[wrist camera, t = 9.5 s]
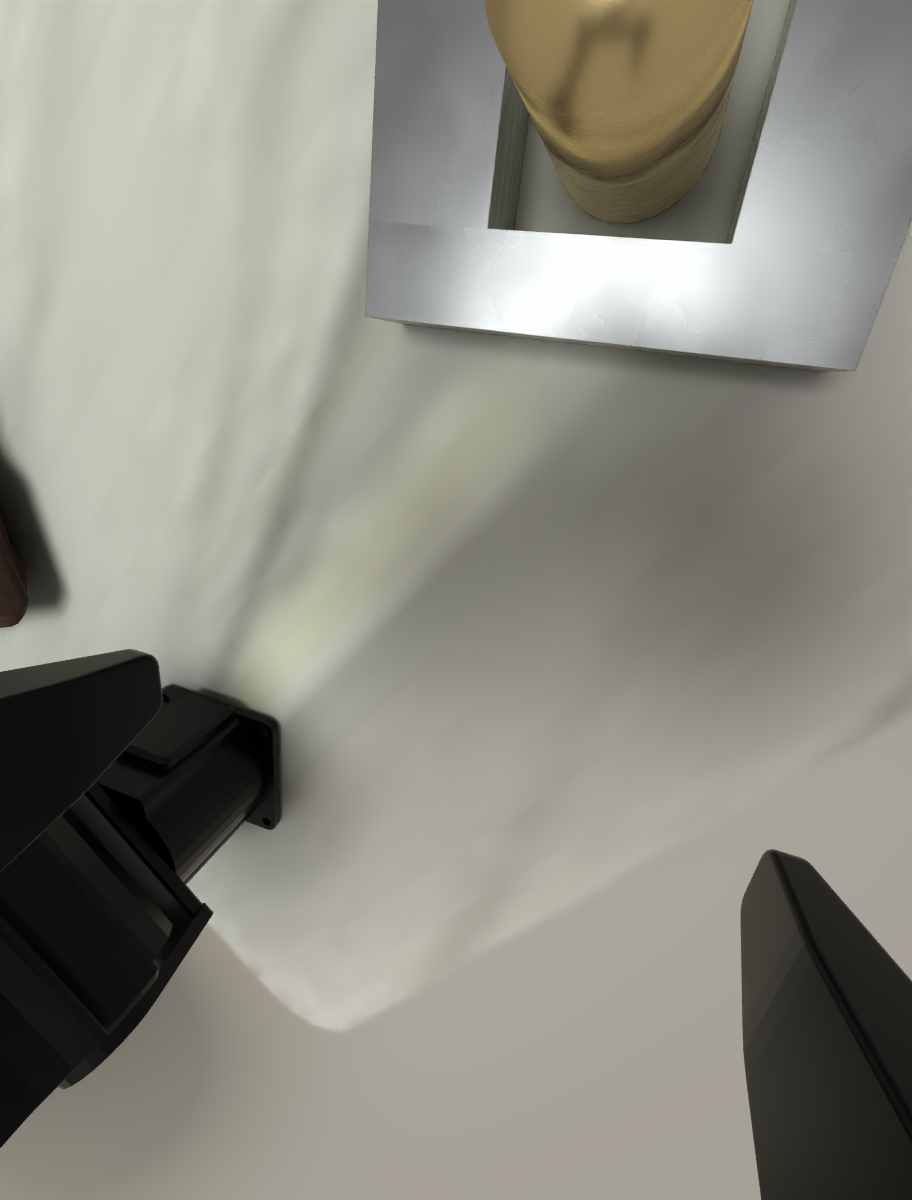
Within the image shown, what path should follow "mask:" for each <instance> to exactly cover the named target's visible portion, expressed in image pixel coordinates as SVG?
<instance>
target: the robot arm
mask: <svg viewBox="0 0 912 1200" xmlns="http://www.w3.org/2000/svg"><path fill="white" fill-rule="evenodd" d="M265 728H266V729H267V730H266V729H265ZM245 821H247V822H250V823H252V824H255V825H258V826H260V827H263V828H265V829H269V830H272V829H274V828H275V827H276V825H277V824H278V823H279V822H280V790H279V745H278V727H277V725H276V723H275V722H274V721H273V720H272V719H270V718H268V717H265V716H262V715H258V714H255V713H252V712H249V711H246V710H243V709H240V708H237V707H234V706H231V705H228V704H225V703H222V702H219V701H216V700H213V699H210V698H207V697H204V696H201V695H198V694H195V693H192V692H189V691H186V690H183V689H180V688H177V687H173V686H169V685H167V686H165V687H164V688H161V680H160V672H159V665H158V661H157V660H156V658H155V657H154V656H152V655H150V654H147V653H144V652H141V651H137V650H133V649H127V650H121V651H116V652H110V653H104V654H99V655H93V656H87V657H82V658H76V659H71V660H65V661H59V662H54V663H48V664H42V665H37V666H31V667H26V668H20V669H14V670H9V671H3V672H0V1148H1V1147H2V1146H3V1144H4V1143H5V1142H6V1141H7V1140H8V1139H9V1138H10V1137H11V1135H12V1134H13V1133H14V1132H15V1131H16V1130H17V1128H18V1127H19V1126H20V1125H21V1124H22V1123H23V1122H24V1121H25V1120H26V1118H27V1117H28V1116H29V1115H30V1114H31V1113H32V1112H33V1111H34V1110H35V1109H36V1108H37V1107H38V1106H39V1105H40V1104H41V1103H42V1102H43V1101H44V1100H45V1099H46V1098H47V1097H48V1096H49V1095H50V1094H51V1093H52V1092H53V1091H54V1090H55V1088H57V1087H59V1088H61V1089H66V1088H68V1087H70V1086H72V1085H74V1084H75V1083H77V1082H79V1081H80V1080H82V1079H83V1078H84V1077H85V1076H87V1075H88V1074H89V1073H90V1072H92V1071H93V1070H94V1069H95V1068H96V1067H98V1066H99V1065H100V1064H101V1063H102V1062H103V1061H104V1060H105V1059H106V1058H107V1057H108V1056H109V1055H110V1054H111V1053H112V1052H113V1051H114V1050H115V1049H116V1048H117V1047H118V1046H119V1045H120V1044H121V1043H122V1042H123V1041H124V1040H125V1039H126V1038H127V1037H128V1035H129V1034H130V1033H131V1032H132V1031H133V1030H134V1029H135V1027H136V1026H137V1025H138V1024H139V1023H140V1021H141V1020H142V1019H143V1018H144V1016H145V1015H146V1014H147V1012H148V1011H149V1010H150V1008H151V1007H152V1006H153V1004H154V1003H155V1001H156V999H157V998H158V997H159V995H160V994H161V992H162V991H163V989H164V988H165V986H166V984H167V983H168V981H169V980H170V978H171V977H172V975H173V974H174V972H175V971H176V969H177V968H178V966H179V965H180V963H181V962H182V960H183V959H184V957H185V956H186V954H187V953H188V951H189V950H190V948H191V947H192V945H193V944H194V942H195V941H196V939H197V937H198V936H199V934H200V933H201V931H202V930H203V928H204V927H205V925H206V924H207V922H208V921H209V919H210V918H211V916H212V915H213V912H212V910H211V909H210V908H209V907H208V906H207V905H206V903H201V902H200V901H199V899H198V898H197V897H196V896H195V895H194V894H193V892H192V891H191V890H190V889H189V888H188V887H187V885H186V884H187V883H188V882H189V881H190V880H191V879H192V878H193V877H194V875H195V874H196V873H197V872H198V871H199V870H200V869H201V868H202V867H203V866H204V865H205V864H206V863H207V861H208V860H209V859H210V858H211V857H212V856H213V855H214V854H215V853H216V852H217V851H218V850H219V849H220V848H221V846H222V845H223V844H224V843H225V842H226V841H227V840H228V839H229V838H230V837H231V836H232V835H233V834H234V832H235V831H236V830H237V829H238V828H239V827H240V826H241V825H242V824H243V823H244V822H245ZM741 965H742V967H741V968H742V1021H743V1022H742V1024H743V1052H744V1063H745V1072H746V1082H747V1090H748V1098H749V1106H750V1114H751V1121H752V1130H753V1138H754V1145H755V1154H756V1161H757V1170H758V1178H759V1185H760V1193H761V1200H912V981H911V980H910V979H909V977H908V976H907V975H906V974H905V973H904V972H903V970H902V969H901V968H900V967H899V966H898V965H897V963H895V961H894V960H893V959H892V958H891V956H890V955H889V954H888V953H887V952H886V951H885V950H884V948H883V947H882V946H881V945H880V944H879V943H878V942H877V940H876V939H875V938H874V937H873V936H872V934H871V933H870V932H869V931H868V930H867V929H866V928H865V927H864V925H863V924H862V923H861V922H860V921H859V919H858V918H857V917H856V916H855V915H854V914H853V912H852V911H851V910H850V909H849V908H848V907H847V905H846V904H845V903H844V902H843V901H842V900H841V899H840V897H839V896H838V895H837V894H836V893H835V892H834V890H833V889H832V888H831V887H830V886H829V885H828V883H827V882H826V881H825V880H824V879H823V878H822V877H821V875H820V874H819V873H818V872H817V871H816V870H815V868H814V867H813V866H812V865H811V864H810V863H809V862H808V861H806V860H805V859H803V858H800V857H796V856H793V855H790V854H787V853H784V852H780V851H778V850H773V849H771V850H767V851H766V852H765V853H764V854H763V855H762V857H761V859H760V861H759V864H758V866H757V868H756V870H755V872H754V874H753V877H752V879H751V881H750V883H749V885H748V887H747V889H746V892H745V894H744V897H743V900H742V905H741Z"/></svg>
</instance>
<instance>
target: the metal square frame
mask: <svg viewBox="0 0 912 1200" xmlns="http://www.w3.org/2000/svg"><path fill="white" fill-rule="evenodd" d="M528 117H529V112H528V110H527V108H526V106H525V104H524V102H523V100H522V98H521V96H520V93H519V91H518V89H517V87H516V85H515V83H514V81H513V79H512V77H511V75H510V73H509V71H508V69H507V67H506V65H505V63H504V61H503V58H502V56H501V54H500V52H499V50H498V48H497V46H496V43H495V40H494V38H493V35H492V33H491V30H490V26H489V22H488V18H487V14H486V10H485V4H484V0H378V16H377V40H376V65H375V89H374V113H373V138H372V162H371V186H370V211H369V235H368V259H367V284H366V308H365V316H366V317H371V318H376V319H381V320H385V321H390V322H395V323H400V324H406V325H415V326H424V327H433V328H442V329H451V330H460V331H468V332H477V333H486V334H495V335H504V336H513V337H522V338H531V339H539V340H548V341H557V342H566V343H575V344H584V345H593V346H601V347H610V348H619V349H628V350H637V351H646V352H655V353H664V354H672V355H681V356H690V357H699V358H708V359H717V360H726V361H734V362H743V363H752V364H761V365H770V366H779V367H788V368H797V369H805V370H814V371H823V372H831V371H855V370H856V367H857V365H858V362H859V359H860V357H861V354H862V351H863V349H864V346H865V343H866V341H867V338H868V335H869V333H870V330H871V327H872V325H873V322H874V319H875V317H876V314H877V312H878V309H879V306H880V304H881V301H882V298H883V296H884V293H885V290H886V288H887V285H888V282H889V280H890V277H891V274H892V272H893V269H894V266H895V264H896V261H897V258H898V256H899V253H900V250H901V248H902V245H903V242H904V240H905V237H906V234H907V232H908V229H909V226H910V224H911V221H912V0H791V1H790V4H789V8H788V12H787V16H786V19H785V23H784V27H783V31H782V34H781V38H780V42H779V46H778V50H777V53H776V57H775V61H774V65H773V68H772V72H771V76H770V80H769V83H768V87H767V91H766V95H765V99H764V102H763V106H762V110H761V114H760V117H759V121H758V125H757V129H756V132H755V136H754V140H753V144H752V148H751V151H750V155H749V159H748V163H747V166H746V170H745V174H744V178H743V181H742V185H741V189H740V193H739V196H738V200H737V204H736V208H735V212H734V215H733V219H732V223H731V227H730V230H729V234H728V238H727V242H726V244H721V243H705V242H689V241H673V240H657V239H641V238H625V237H610V236H594V235H578V234H562V233H546V232H530V231H514V224H515V216H516V208H517V201H518V193H519V185H520V178H521V170H522V163H523V155H524V147H525V140H526V132H527V124H528Z"/></svg>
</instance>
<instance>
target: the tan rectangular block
mask: <svg viewBox="0 0 912 1200" xmlns="http://www.w3.org/2000/svg"><path fill="white" fill-rule="evenodd" d="M752 3H753V0H484V4H485V10H486V14H487V18H488V22H489V26H490V30H491V33H492V35H493V38H494V40H495V43H496V46H497V48H498V50H499V52H500V54H501V56H502V58H503V61H504V63H505V65H506V67H507V69H508V71H509V73H510V75H511V77H512V79H513V81H514V83H515V85H516V87H517V89H518V91H519V93H520V96H521V98H522V100H523V102H524V104H525V106H526V108H527V110H528V112H529V114H530V116H531V118H532V120H533V122H534V124H535V126H536V128H537V130H538V133H539V135H540V137H541V139H542V141H543V143H544V145H545V147H546V149H547V151H548V153H549V155H550V157H551V159H552V161H553V163H554V165H555V168H556V170H557V172H558V174H559V176H560V178H561V180H562V182H563V184H564V186H565V188H566V190H567V192H568V193H569V195H570V196H571V198H572V199H573V200H574V202H575V203H576V204H577V205H578V206H579V207H580V208H581V209H582V210H583V211H585V212H586V213H588V214H589V215H591V216H593V217H595V218H597V219H599V220H602V221H606V222H610V223H618V224H619V223H633V222H638V221H642V220H645V219H648V218H650V217H653V216H655V215H657V214H659V213H661V212H662V211H664V210H666V209H667V208H669V207H670V206H672V205H673V204H674V203H675V202H677V201H678V200H679V199H680V198H681V197H682V196H683V195H684V194H685V193H686V192H687V191H688V190H689V189H690V188H691V187H692V186H693V184H694V183H695V182H696V181H697V179H698V178H699V176H700V175H701V173H702V172H703V171H704V169H705V167H706V165H707V163H708V162H709V160H710V158H711V156H712V153H713V151H714V149H715V146H716V144H717V140H718V137H719V134H720V130H721V126H722V122H723V118H724V114H725V110H726V106H727V103H728V99H729V95H730V91H731V87H732V83H733V79H734V75H735V71H736V67H737V63H738V59H739V55H740V51H741V47H742V43H743V39H744V35H745V31H746V27H747V23H748V19H749V15H750V11H751V7H752Z"/></svg>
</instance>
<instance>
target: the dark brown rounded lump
mask: <svg viewBox="0 0 912 1200" xmlns="http://www.w3.org/2000/svg"><path fill="white" fill-rule="evenodd" d="M26 589H27V580H26V577H25V573H24V570H23V568H22V566H21V564H20V561H19V559H18V557H17V555H16V553H15V551H14V549H13V547H12V545H11V542H10V540H9V538H8V535H7V531H6V528H5V526H4V523H3V521H2V518H1V516H0V628H2V627H11V626H14V625H16V624H18V623H19V622H20V620H21V619H22V617H23V616H24V614H25V612H26V609H27V605H28V601H29V599H28V596H27V594H26Z"/></svg>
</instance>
